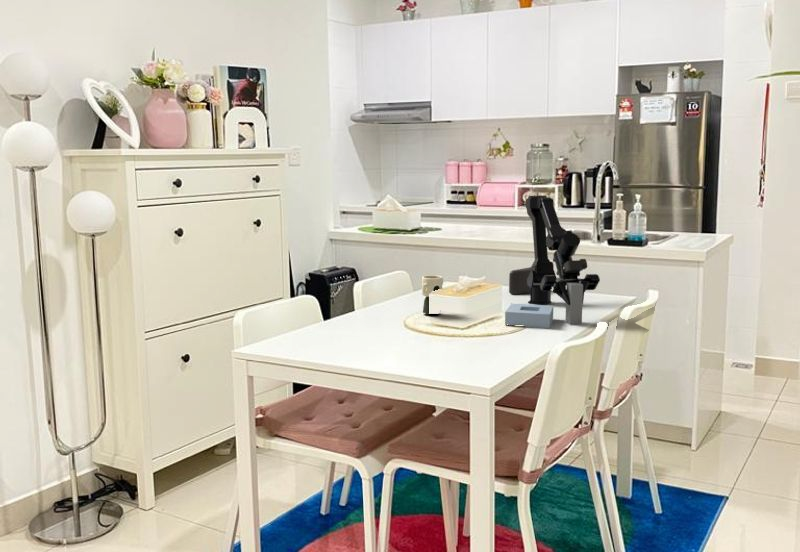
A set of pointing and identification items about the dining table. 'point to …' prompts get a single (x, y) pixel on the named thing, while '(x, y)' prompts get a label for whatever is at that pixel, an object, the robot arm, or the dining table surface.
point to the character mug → (430, 288)
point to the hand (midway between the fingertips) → (575, 304)
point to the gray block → (574, 303)
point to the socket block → (529, 315)
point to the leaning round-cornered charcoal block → (519, 281)
